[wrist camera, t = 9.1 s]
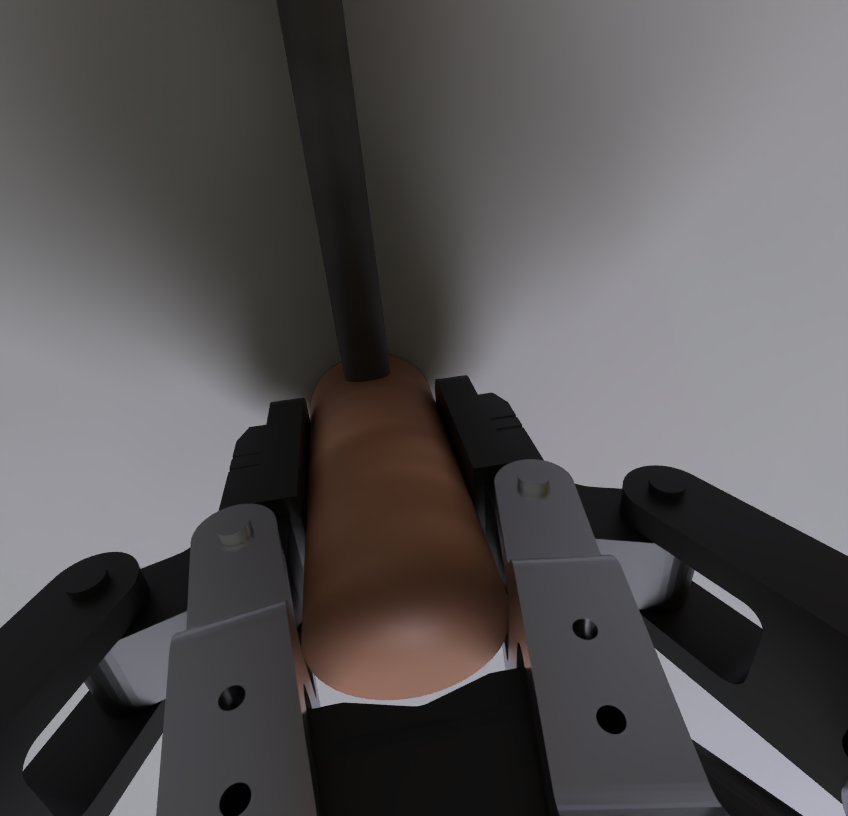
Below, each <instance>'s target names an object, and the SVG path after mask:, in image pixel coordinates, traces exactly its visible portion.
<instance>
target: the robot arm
mask: <svg viewBox="0 0 848 816" xmlns="http://www.w3.org/2000/svg"><path fill="white" fill-rule="evenodd" d="M435 397H436V405H437V408H438V410H439V413H440V416H441V418H442V421H443V424H444V427H445V429H446V432H447V435H448V437H449V440H450V443H451V445H452V448H453V451H454V453H455V456H456V459H457V461H458V464H459V467H460V469H461V472H462V475H463V477H464V480H465V483H466V485H467V488H468V491H469V493H470V496H471V499H472V501H473V504H474V507H475V509H476V512H477V515H478V517H479V520H480V523H481V526H482V528H483V531H484V534H485V536H486V539H487V542H488V544H489V547H490V550H491V552H492V555H493V558H494V560H495V563H496V566H497V568H498V571H499V574H500V576H501V579H502V582H503V584H504V587H505V590H506V592H507V595H508V603H509V633H508V635H507V637H506V639H505V641H504V643H503V644H502V647H503V655H504V662H505V670H504V671H499V672H494V673H489V674H487V675H485V676H483V677H481V678H479V679H477V680H475V681H473V682H471V683H469V684H467V685H465V686H463V687H461V688H458V689H456V690H454V691H452V692H450V693H448V694H446V695H444V696H442V697H440V698H438V699H436V700H434V701H432V702H430V703H428V704H425V705H422V706H395V705H377V704H360V703H339V704H334V705H329V706H324V707H320V701H319V696H318V690H317V685H316V679H315V674H314V673H313V672H312V671H311V670H310V668H309V667H308V665H307V664H306V661H305V659H304V656H303V653H302V648H301V633H302V608H303V583H304V558H305V536H306V515H307V490H308V464H309V439H310V418H309V413H308V408H307V404H306V401H305V398H297V399H290V400H283V401H276V402H271V403H270V408H269V413H268V419H267V425H261V426H254V427H249V428H248V429H247V430H246V432H245V433H244V434H243V435H242V436H241V437H240V438H239V439H238V440H237V441H236V445H235V449H234V453H233V459H232V461H231V465H230V472H228V476H227V480H226V484H225V488H224V492H223V496H222V500H221V504H220V507H219V511H218V512H216V513H214V514H212V515H211V516H209V517H208V518H207V519H205V520H204V521H203V522H202V523H201V524H200V525H199V526H198V527H197V529H196V530H195V532H194V533H193V536H192V538H191V547H190V548H189V549H187V550H185V551H184V552H182V553H180V554H177V555H175V556H173V557H170V558H168V559H165V560H162V561H160V562H157V563H155V564H152V565H150V566H147V567H144V568H142V569H140V567H139V564H138V562H137V561H136V559H135V558H134V557H133V556H131V555H129V554H126V553H122V552H108V553H102V554H98V555H94V556H91V557H89V558H86V559H83V560H81V561H79V562H77V563H75V564H74V565H72V566H70V567H68V568H67V569H65V570H64V571H63V572H61V573H60V574H59V575H57V576H56V577H55V578H54V579H53V580H52V581H51V582H50V583H48V584H47V585H46V586H45V587H44V588H43V589H42V590H41V591H40V592H39V593H38V594H37V595H36V596H35V597H33V598H32V599H31V600H30V601H29V602H28V603H27V604H26V605H25V606H24V607H23V608H22V609H21V610H19V611H18V612H17V613H16V614H15V615H14V616H13V617H12V618H11V619H10V620H9V621H8V622H7V623H6V624H4V625H3V626H2V627H1V628H0V816H109V815H110V813H111V812H112V810H113V808H114V807H115V805H116V804H117V802H118V801H119V799H120V798H121V796H122V795H123V793H124V792H125V790H126V789H127V787H128V785H129V784H130V782H131V781H132V779H133V778H134V776H135V775H136V773H137V772H138V770H139V769H140V767H141V766H142V764H143V762H144V761H145V759H146V758H147V756H148V755H149V753H150V752H151V750H152V749H153V747H154V746H155V744H156V743H157V741H158V739H159V738H160V736H161V735H162V733H163V737H162V750H161V762H160V775H159V788H158V800H157V813H156V816H803V815H801V814H800V813H798V812H797V811H795V810H794V809H792V808H791V807H790V806H788V805H787V804H785V803H784V802H782V801H781V800H779V799H778V798H776V797H775V796H774V795H772V794H771V793H769V792H768V791H766V790H765V789H763V788H762V787H760V786H759V785H758V784H756V783H755V782H753V781H752V780H750V779H749V778H747V777H746V776H744V775H743V774H742V773H740V772H739V771H737V770H736V769H734V768H733V767H731V766H730V765H728V764H727V763H726V762H724V761H723V760H721V759H720V758H718V757H717V756H715V755H714V754H712V753H711V752H710V751H708V750H707V749H705V748H704V747H702V746H701V745H699V744H698V743H696V742H695V741H694V740H692V739H691V737H690V734H689V732H688V730H687V727H686V725H685V722H684V720H683V717H682V715H681V712H680V710H679V707H678V705H677V702H676V700H675V697H674V695H673V693H672V690H671V688H670V685H669V683H668V680H667V678H666V675H665V673H664V670H663V668H662V665H661V663H660V660H659V658H658V656H657V653H656V651H655V649H657V650H658V651H659V652H660V653H661V654H663V655H664V656H665V657H666V658H667V659H669V660H670V661H671V662H672V663H673V664H675V665H676V666H677V667H678V668H679V669H681V670H682V671H683V672H684V673H685V674H687V675H688V676H689V677H690V678H691V679H693V680H694V681H695V682H696V683H697V684H699V685H700V686H701V687H702V688H703V689H705V690H706V691H707V692H708V693H709V694H711V695H712V696H713V697H714V698H715V699H717V700H718V701H719V702H720V703H721V704H723V705H724V706H725V707H726V708H727V709H729V710H730V711H731V712H732V713H733V714H735V715H736V716H737V717H738V718H740V719H741V720H742V721H743V722H744V723H746V724H747V725H748V726H749V727H750V728H752V729H753V730H754V731H755V732H756V733H758V734H759V735H760V736H761V737H762V738H764V739H765V740H766V741H767V742H768V743H770V744H771V745H772V746H773V747H774V748H776V749H777V750H778V751H779V752H780V753H782V754H783V755H784V756H785V757H786V758H788V759H789V760H790V761H791V762H792V763H794V764H795V765H796V766H797V767H798V768H800V769H801V770H802V771H803V772H804V773H806V774H807V775H808V776H809V777H810V778H812V779H813V780H814V781H815V782H816V783H818V784H819V785H820V786H821V787H822V788H824V789H825V790H826V791H827V792H828V793H830V794H831V795H832V796H833V797H834V798H836V799H837V800H838V801H839V802H840V803H842V804H843V808H844V811H845V814H846V816H848V556H846V555H845V554H843V553H841V552H839V551H837V550H835V549H833V548H831V547H829V546H827V545H825V544H824V543H822V542H820V541H818V540H816V539H814V538H812V537H810V536H808V535H806V534H804V533H803V532H801V531H799V530H797V529H795V528H793V527H791V526H789V525H787V524H785V523H783V522H782V521H780V520H778V519H776V518H774V517H772V516H770V515H768V514H766V513H764V512H762V511H760V510H759V509H757V508H755V507H753V506H751V505H749V504H747V503H745V502H743V501H741V500H739V499H738V498H736V497H734V496H732V495H730V494H728V493H726V492H724V491H722V490H720V489H718V488H717V487H715V486H713V485H711V484H709V483H707V482H705V481H703V480H701V479H699V478H697V477H696V476H694V475H692V474H690V473H687V472H685V471H682V470H680V469H676V468H672V467H667V466H644V467H640V468H637V469H634V470H632V471H631V472H629V473H628V474H627V475H626V476H625V478H624V480H623V487H622V489H617V488H600V487H588V486H582V485H578V484H574V481H573V479H572V477H571V475H570V474H569V473H568V472H567V471H566V470H565V469H563V468H562V467H560V466H558V465H556V464H554V463H551V462H548V461H544V460H543V458H542V457H541V455H540V453H539V452H538V450H537V448H536V447H535V445H534V444H533V442H532V440H531V439H530V437H529V435H528V434H527V432H526V431H525V429H524V428H522V424H521V423H520V421H519V419H518V418H517V417H516V414H515V413H514V411H513V410H512V408H511V406H510V405H509V403H508V402H507V401H505V400H504V399H502V398H500V397H499V396H497V395H495V394H494V393H486V394H479V395H478V394H477V392H476V390H475V389H474V387H473V385H472V383H471V381H470V379H469V377H468V376H467V375H464V376H457V377H450V378H443V379H436V380H435ZM694 570H696V571H697V572H699V573H700V574H702V575H703V576H705V577H706V578H708V579H709V580H711V581H712V582H714V583H715V584H717V585H718V586H720V587H721V588H723V589H724V590H726V591H727V592H729V593H730V594H732V595H733V596H735V597H736V598H738V599H739V600H741V601H742V602H744V603H745V604H746V605H747V606H749V607H750V608H751V609H752V610H753V611H754V613H755V614H756V615H757V617H758V618H759V620H760V622H761V624H762V628H763V629H762V628H760V627H759V626H758V625H756V624H755V623H753V622H752V621H750V620H749V619H747V618H746V617H744V616H743V615H741V614H740V613H739V612H737V611H736V610H734V609H733V608H731V607H730V606H728V605H727V604H725V603H724V602H722V601H721V600H720V599H718V598H717V597H715V596H714V595H712V594H711V593H709V592H708V591H706V590H705V589H703V588H702V587H700V586H699V585H698V584H696V583H695V582H693V581H692V578H693V574H694ZM83 682H84V683H85V684H86V686H87V687H88V689H89V691H88V692H87V694H86V695H85V696H84V697H83V699H82V700H81V701H80V702H79V703H78V705H77V706H76V707H75V708H74V710H73V711H72V712H71V713H70V714H69V716H68V717H67V718H66V719H65V721H64V722H63V723H62V724H61V725H60V727H59V728H58V729H57V730H56V732H55V733H54V734H53V735H52V736H51V738H50V739H49V740H48V741H47V743H46V744H45V745H44V746H43V747H42V749H41V750H40V751H39V752H38V754H37V755H36V756H35V757H34V758H33V760H32V761H31V762H30V763H29V765H28V766H27V767H26V768H25V769H24V771H23V765H24V761H25V758H26V755H27V753H28V751H29V749H30V747H31V746H32V744H33V743H34V741H35V740H36V739H37V737H38V736H39V735H40V734H41V732H42V731H43V730H44V729H45V728H46V726H47V725H48V724H49V723H50V722H51V720H52V719H53V718H54V717H55V716H56V714H57V713H58V712H59V711H60V710H61V709H62V707H63V706H64V705H65V704H66V703H67V701H68V700H69V699H70V698H71V697H72V695H73V694H74V693H75V692H76V691H77V689H78V688H79V687H80V686H81V685H82V684H83Z"/></svg>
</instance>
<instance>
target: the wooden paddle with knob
mask: <svg viewBox="0 0 848 816" xmlns="http://www.w3.org/2000/svg"><path fill="white" fill-rule="evenodd" d="M277 6H278V12H279V17H280V23H281V28H282V34H283V39H284V45H285V50H286V56H287V61H288V67H289V72H290V78H291V83H292V89H293V95H294V100H295V106H296V111H297V117H298V122H299V128H300V133H301V139H302V144H303V150H304V155H305V161H306V166H307V172H308V178H309V183H310V189H311V194H312V200H313V205H314V211H315V216H316V222H317V227H318V233H319V238H320V244H321V249H322V255H323V261H324V266H325V272H326V277H327V283H328V288H329V294H330V299H331V305H332V310H333V316H334V321H335V327H336V332H337V338H338V344H339V349H340V355H341V360H342V361H341V362H339V363H338V364H336V365H334V366H333V367H332V368H331V369H329V370H328V371H327V372H326V373H325V374H324V375H323V377H322V378H321V379H320V381H319V382H318V384H317V386H316V388H315V390H314V392H313V395H312V399H311V408H310V439H309V464H308V490H307V515H306V536H305V558H304V583H303V608H302V633H301V648H302V653H303V656H304V659H305V661H306V664H307V665H308V667H309V668H310V670H311V671H312V672H313V673H314V674H315V675H316V677H317V678H318V679H320V680H321V681H322V682H324V683H325V684H326V685H328V686H330V687H332V688H333V689H335V690H337V691H340V692H343V693H345V694H348V695H352V696H355V697H360V698H366V699H375V700H398V699H408V698H414V697H420V696H424V695H427V694H431V693H434V692H437V691H440V690H443V689H446V688H448V687H450V686H453V685H455V684H457V683H459V682H461V681H463V680H465V679H466V678H468V677H469V676H471V675H472V674H474V673H476V672H477V671H478V670H479V669H481V668H482V667H483V666H484V665H486V664H487V663H488V662H489V661H490V660H491V659H492V658H493V657H494V655H495V654H496V653H497V652H498V651H499V649H500V648H501V646H502V644H503V643H504V641H505V639H506V637H507V635H508V633H509V603H508V595H507V592H506V590H505V587H504V584H503V582H502V579H501V576H500V574H499V571H498V568H497V566H496V563H495V560H494V558H493V555H492V552H491V550H490V547H489V544H488V542H487V539H486V536H485V534H484V531H483V528H482V526H481V523H480V520H479V517H478V515H477V512H476V509H475V507H474V504H473V501H472V499H471V496H470V493H469V491H468V488H467V485H466V483H465V480H464V477H463V475H462V472H461V469H460V467H459V464H458V461H457V459H456V456H455V453H454V451H453V448H452V445H451V443H450V440H449V437H448V435H447V432H446V429H445V427H444V424H443V421H442V418H441V416H440V413H439V410H438V408H437V405H436V402H435V400H434V397H433V394H432V392H431V389H430V386H429V384H428V382H427V380H426V379H425V377H424V376H423V375H422V373H421V372H420V371H419V370H418V369H417V368H416V367H414V366H413V365H412V364H410V363H409V362H407V361H405V360H403V359H401V358H399V357H396V356H393V355H389V354H388V350H387V342H386V335H385V327H384V319H383V312H382V304H381V297H380V289H379V281H378V274H377V266H376V258H375V251H374V243H373V236H372V228H371V220H370V213H369V205H368V197H367V190H366V182H365V174H364V167H363V159H362V152H361V144H360V136H359V129H358V121H357V113H356V106H355V98H354V91H353V83H352V75H351V68H350V60H349V52H348V45H347V37H346V30H345V22H344V14H343V7H342V0H277Z"/></svg>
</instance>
